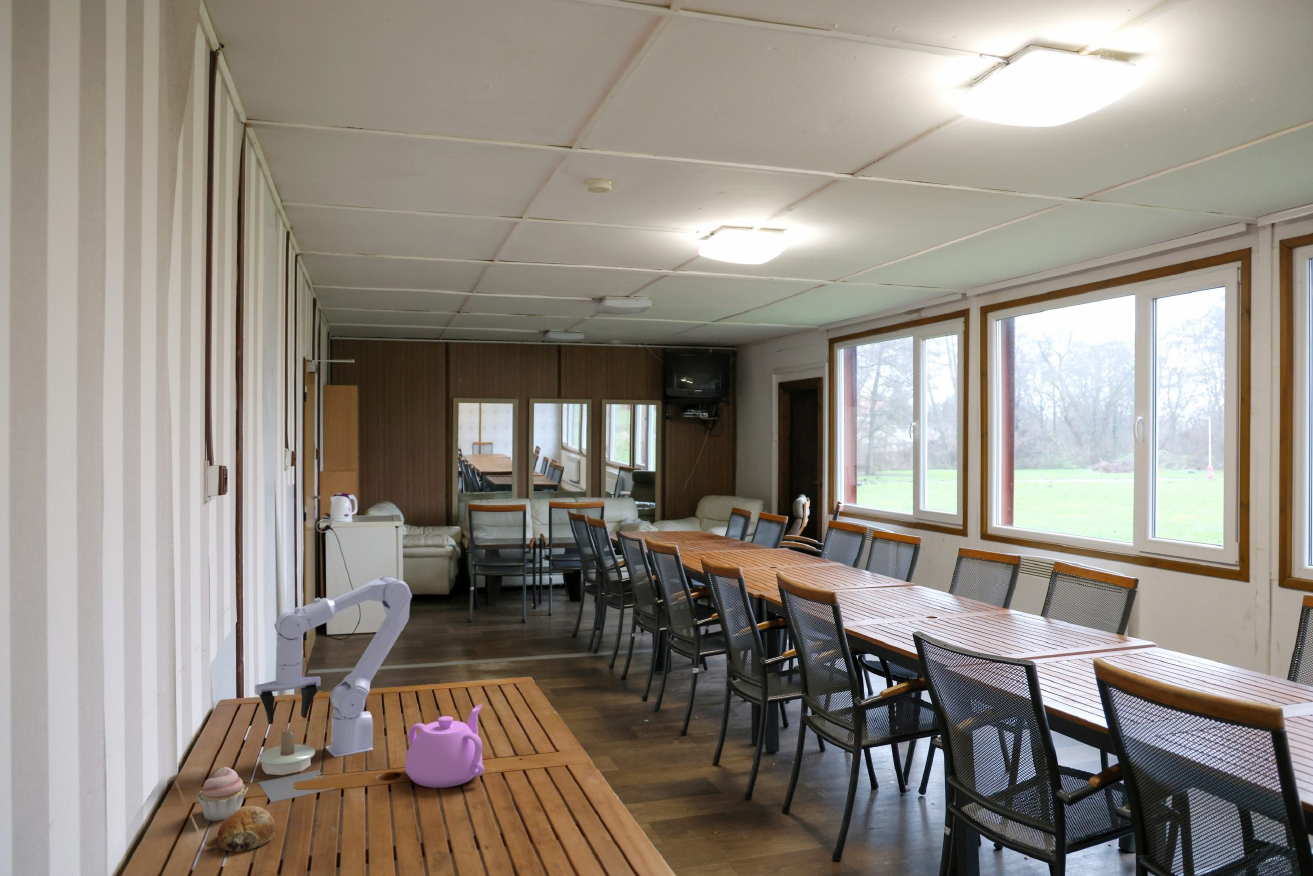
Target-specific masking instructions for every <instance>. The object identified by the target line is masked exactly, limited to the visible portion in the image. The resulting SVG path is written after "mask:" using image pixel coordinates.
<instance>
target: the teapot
mask: <svg viewBox="0 0 1313 876" xmlns="http://www.w3.org/2000/svg"><path fill="white" fill-rule="evenodd" d="M482 708H483V704H478V705H476V706H475V707H474V708H472V710H471V712H470V713H469V717H468V718H467V719H468V720H467V723H465V722H463V721H458V720H454V717H452V716H449V715H448V716H447V715H446V716H445V715H444V716H443V715H442V716H440V717H437V721H433V722H430V723H427V724H424V723H415V724H414V725H412V726H411V727H410V728H409V731H408V741H409V749H407V751H406V753H405V757H406V760H405V772H406V774H407V775H408V777H409V778H410V779H411V781H413V782H414V783H415V784H416V785H419V786H423V787H427V788H440V789H441V788H445V789H447V788H450V787H456V786H459V785H463V784H465V783H468V782H469V781H472V780H473V778H474V777H479V776H482V775H483V774H484V771H485V766H484V764H483V754H482V752H483V742H482V739H481V737H480V736H479V727H478V725H479V724H478V718H479V717H478V716H479V714H480V711H481V709H482ZM417 729H418V730H420V731H419V732H418V734H417Z"/></svg>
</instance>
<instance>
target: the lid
mask: <svg viewBox="0 0 1313 876" xmlns="http://www.w3.org/2000/svg"><path fill="white" fill-rule="evenodd" d="M295 738H296V730H295V729H284V730H283V731H281V732H280V746H275V747H271V748H268V749H266V750H264V751H262V752H261V753H260V754H259V756H258V761H259V762H260V763H261V764H262V763H263V764H267V765H289V764H295V763H299V762H303V761H306V760H308V759H310V758H311V759H312V758H313V757H314V756H315V754H316V749H315V747H313V746H311V745H307V744H296V743H295V742H296V741H295V740H296V739H295Z"/></svg>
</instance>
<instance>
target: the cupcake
mask: <svg viewBox="0 0 1313 876" xmlns="http://www.w3.org/2000/svg"><path fill="white" fill-rule="evenodd" d="M202 788H203V790H201V791H199V794H197V795H196V796H195V797H196V799H197V800H198V802H199V804H200V806H201V809H202V813H203V818H204V819H205V820H207V821H211V822H219V821H224V820H225V819H226V818H228V817H229V816H230V815H231V814H232V813H233V812H235V811H236V810H238V809H240V808H242V803H243V800H244V797H245V796H246V793H247V791H248V790H249V787H246V786H245V784H244V781H243V780H242V778H241V777H239V775H238V773H237V772H236V771H235V770H234V769H233V768H230V767H226V766H223V767H222V768H219V769H217V771H216V772H215V773H214V774H213V776H212V777H210V778H208V779H206V780H205V782H204V783H203V787H202Z"/></svg>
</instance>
